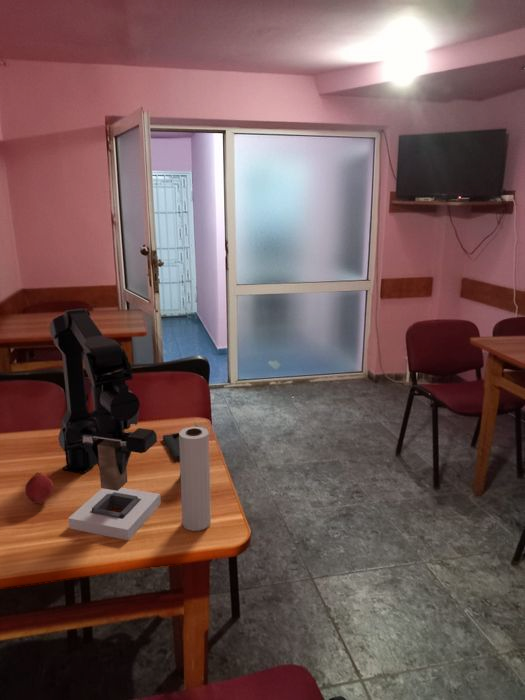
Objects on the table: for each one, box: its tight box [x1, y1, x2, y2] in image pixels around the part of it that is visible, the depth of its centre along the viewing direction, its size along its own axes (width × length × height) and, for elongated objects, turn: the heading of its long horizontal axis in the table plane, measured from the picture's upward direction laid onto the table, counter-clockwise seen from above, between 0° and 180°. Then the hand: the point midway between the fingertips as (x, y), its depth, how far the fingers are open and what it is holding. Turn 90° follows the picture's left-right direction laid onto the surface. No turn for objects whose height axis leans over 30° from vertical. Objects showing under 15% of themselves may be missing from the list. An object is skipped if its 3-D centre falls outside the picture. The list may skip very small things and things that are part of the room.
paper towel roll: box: [178, 422, 212, 532], centre depth 109 cm, size 7×6×21 cm
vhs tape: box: [162, 432, 180, 462], centre depth 146 cm, size 14×8×2 cm, turn 24°
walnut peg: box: [97, 439, 129, 491], centre depth 110 cm, size 4×4×10 cm
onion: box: [25, 471, 54, 505], centre depth 117 cm, size 6×6×8 cm
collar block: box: [68, 487, 161, 541], centre depth 113 cm, size 14×14×3 cm
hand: (113, 472), depth 111 cm, fingers closed on walnut peg, 4 cm apart
